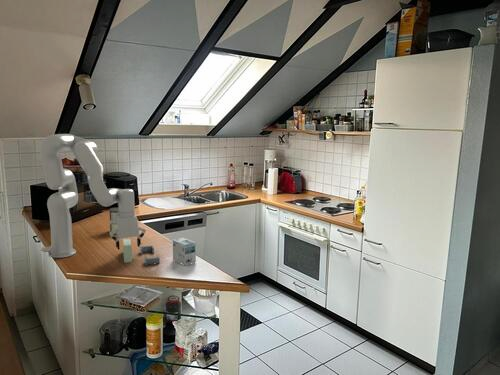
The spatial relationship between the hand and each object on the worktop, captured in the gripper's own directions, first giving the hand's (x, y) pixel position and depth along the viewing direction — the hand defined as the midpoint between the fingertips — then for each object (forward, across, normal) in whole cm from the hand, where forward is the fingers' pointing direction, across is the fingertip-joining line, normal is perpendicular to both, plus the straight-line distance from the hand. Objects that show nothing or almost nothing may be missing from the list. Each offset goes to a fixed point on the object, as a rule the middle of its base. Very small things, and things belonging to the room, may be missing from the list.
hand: (128, 247), depth 193 cm
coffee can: (+4, -1, +48) cm, 49 cm away
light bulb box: (+6, +24, -16) cm, 30 cm away
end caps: (+5, +9, -5) cm, 12 cm away
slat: (+5, -1, 0) cm, 5 cm away
